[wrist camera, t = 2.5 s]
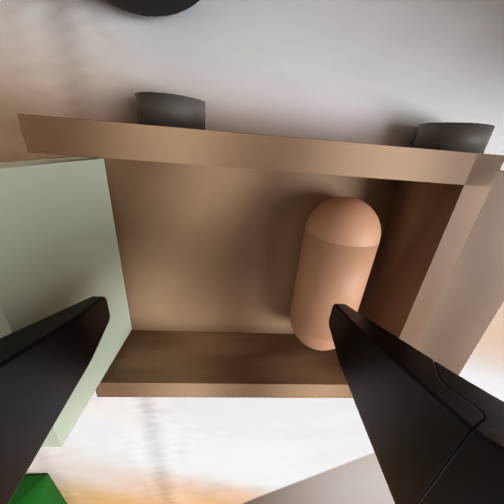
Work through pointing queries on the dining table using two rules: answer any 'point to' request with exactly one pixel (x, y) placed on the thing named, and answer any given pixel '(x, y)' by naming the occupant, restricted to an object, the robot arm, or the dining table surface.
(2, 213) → the tailgate
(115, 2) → the beverage can
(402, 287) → the wooden drawer box
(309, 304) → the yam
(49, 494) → the milk carton
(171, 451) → the dining table surface
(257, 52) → the dining table surface
